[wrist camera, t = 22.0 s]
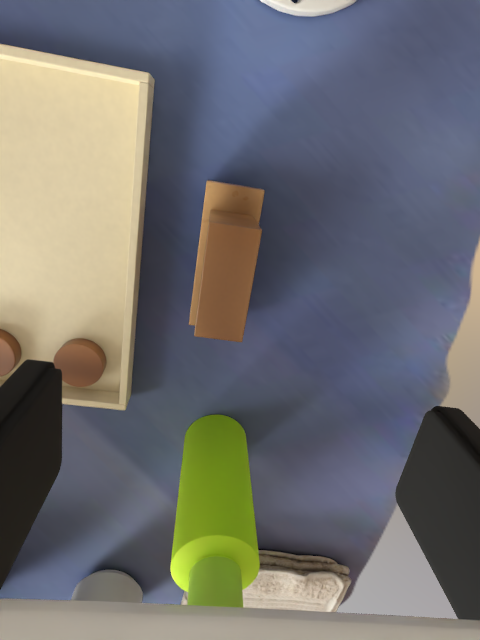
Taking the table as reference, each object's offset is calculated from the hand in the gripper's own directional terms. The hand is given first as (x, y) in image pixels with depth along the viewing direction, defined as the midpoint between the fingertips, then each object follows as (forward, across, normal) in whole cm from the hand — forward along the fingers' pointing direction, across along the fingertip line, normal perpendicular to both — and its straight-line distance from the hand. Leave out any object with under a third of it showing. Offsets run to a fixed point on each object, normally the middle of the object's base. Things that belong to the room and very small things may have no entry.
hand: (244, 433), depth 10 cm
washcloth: (+24, -10, +38) cm, 46 cm away
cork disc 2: (+23, +10, +11) cm, 27 cm away
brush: (+23, 0, 0) cm, 23 cm away
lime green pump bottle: (+24, -2, +19) cm, 30 cm away
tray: (+23, +14, +2) cm, 27 cm away
